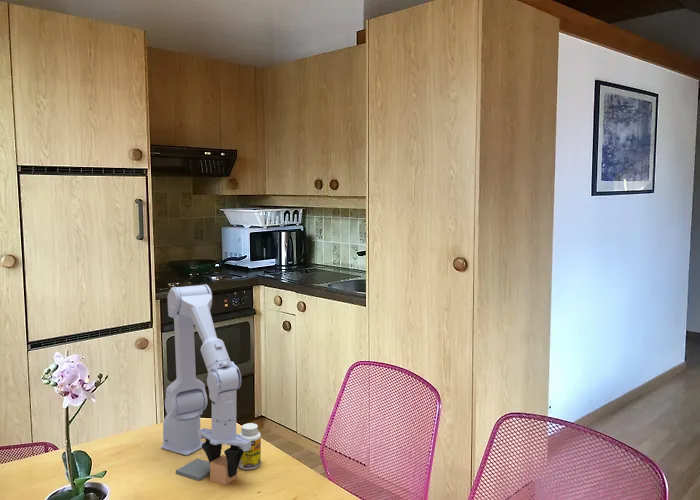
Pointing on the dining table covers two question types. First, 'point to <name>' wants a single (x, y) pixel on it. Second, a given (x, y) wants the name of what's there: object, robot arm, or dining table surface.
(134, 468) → the dining table surface
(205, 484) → the dining table surface
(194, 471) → the mat
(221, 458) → the block
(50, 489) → the dining table surface
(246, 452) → the supplement bottle
